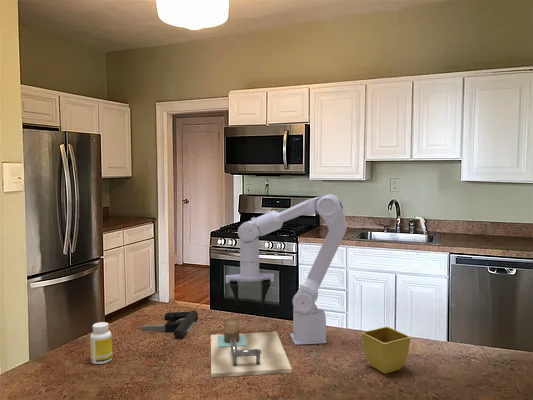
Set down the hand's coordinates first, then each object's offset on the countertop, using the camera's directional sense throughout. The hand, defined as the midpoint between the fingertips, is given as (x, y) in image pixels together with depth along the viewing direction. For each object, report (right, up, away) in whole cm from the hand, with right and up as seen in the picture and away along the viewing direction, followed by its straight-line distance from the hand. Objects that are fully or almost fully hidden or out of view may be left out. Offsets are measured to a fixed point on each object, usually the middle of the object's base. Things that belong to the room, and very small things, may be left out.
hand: (249, 304), depth 139 cm
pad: (-5, -10, -7) cm, 13 cm away
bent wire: (-1, -10, -18) cm, 21 cm away
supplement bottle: (-39, -11, -17) cm, 44 cm away
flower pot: (+35, -11, -23) cm, 44 cm away
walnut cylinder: (-5, -9, -7) cm, 12 cm away
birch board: (0, -10, -13) cm, 17 cm away
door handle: (-26, -10, +8) cm, 29 cm away
